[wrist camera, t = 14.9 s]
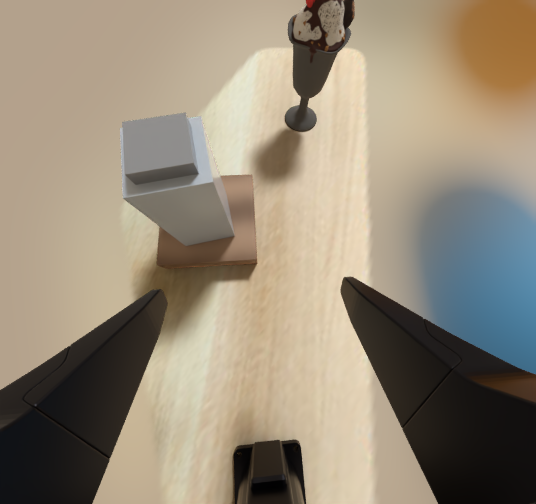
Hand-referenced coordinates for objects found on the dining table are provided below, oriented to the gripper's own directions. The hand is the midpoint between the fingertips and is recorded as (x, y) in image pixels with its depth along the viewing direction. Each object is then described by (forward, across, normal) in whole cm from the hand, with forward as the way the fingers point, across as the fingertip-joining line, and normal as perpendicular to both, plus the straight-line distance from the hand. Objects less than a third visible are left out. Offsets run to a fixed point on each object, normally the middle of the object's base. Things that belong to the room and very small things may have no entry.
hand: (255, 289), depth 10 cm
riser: (+17, +6, +3) cm, 18 cm away
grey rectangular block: (+14, +6, +1) cm, 16 cm away
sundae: (+29, -8, -9) cm, 31 cm away
